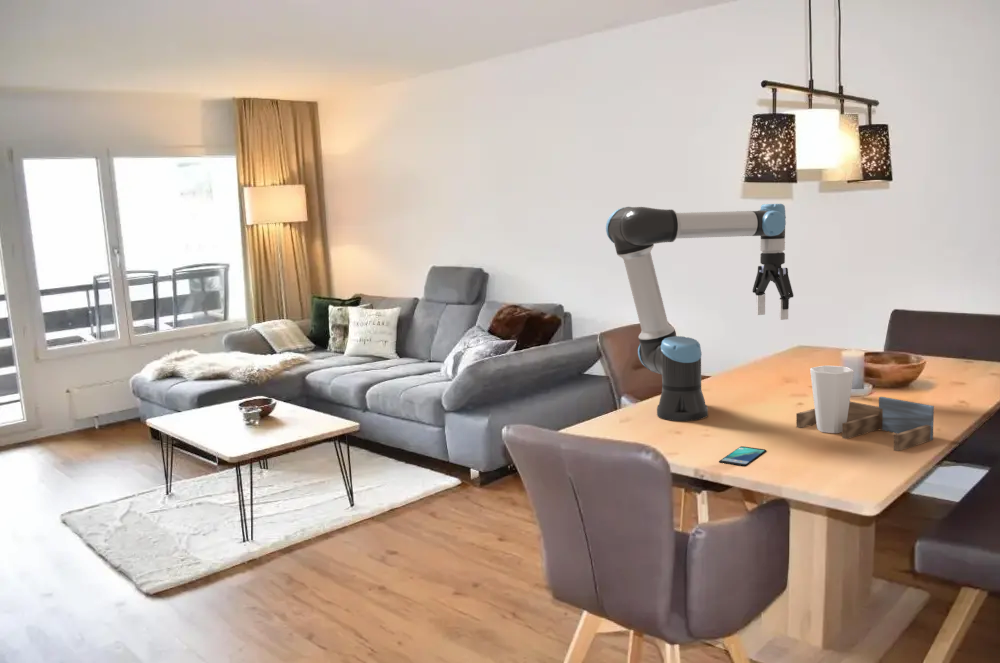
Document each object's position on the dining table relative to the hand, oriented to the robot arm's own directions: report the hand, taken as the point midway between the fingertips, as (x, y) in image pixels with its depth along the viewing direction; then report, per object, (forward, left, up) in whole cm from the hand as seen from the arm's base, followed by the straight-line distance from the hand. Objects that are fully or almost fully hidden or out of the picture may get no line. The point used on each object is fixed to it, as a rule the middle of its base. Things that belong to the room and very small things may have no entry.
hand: (772, 317), depth 269 cm
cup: (-23, -40, -26) cm, 53 cm away
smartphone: (-59, -40, -26) cm, 76 cm away
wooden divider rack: (-20, -47, -26) cm, 57 cm away
